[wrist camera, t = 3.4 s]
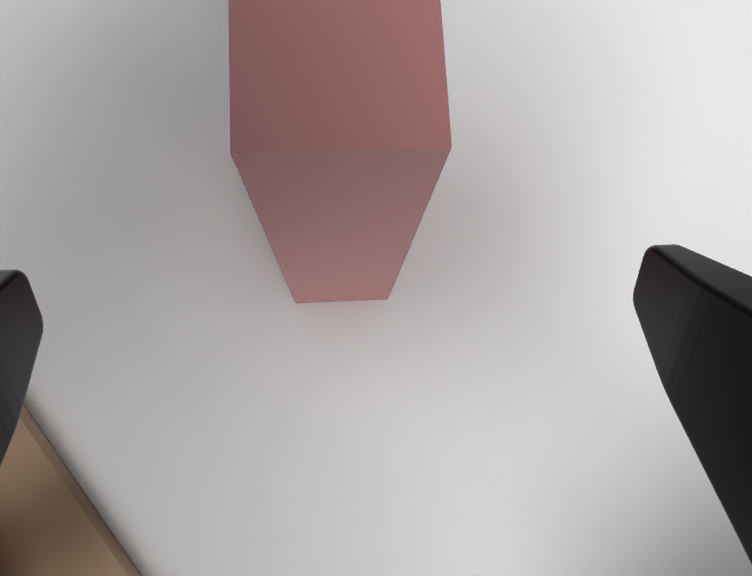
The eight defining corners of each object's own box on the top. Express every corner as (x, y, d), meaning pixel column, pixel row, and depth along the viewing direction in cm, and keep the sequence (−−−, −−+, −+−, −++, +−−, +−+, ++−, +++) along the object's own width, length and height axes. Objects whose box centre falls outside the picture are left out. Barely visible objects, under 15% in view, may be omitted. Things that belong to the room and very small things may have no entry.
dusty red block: (387, 298, 21) (451, 146, 9) (295, 303, 21) (230, 153, 9) (378, 127, 22) (422, -220, 10) (290, 129, 22) (226, -222, 10)
